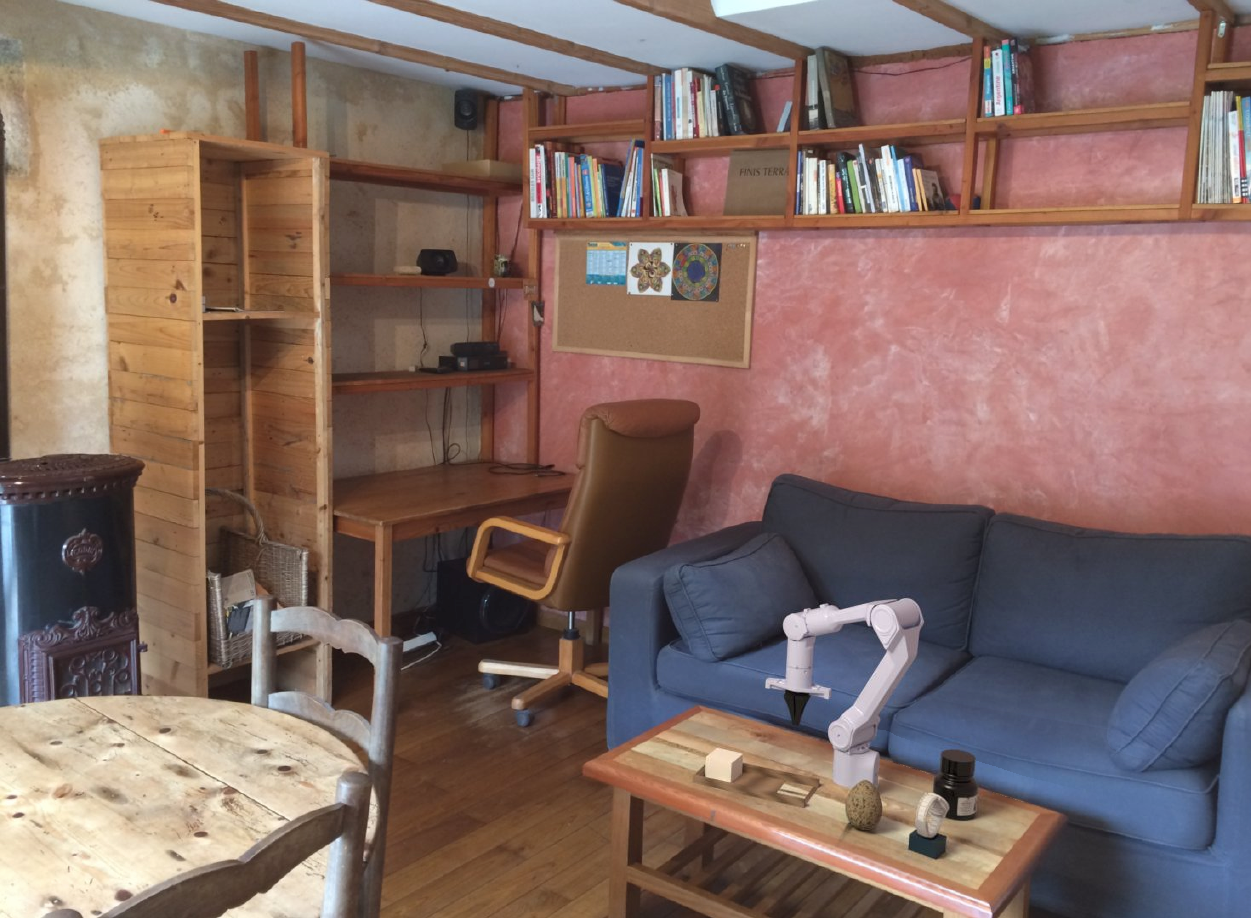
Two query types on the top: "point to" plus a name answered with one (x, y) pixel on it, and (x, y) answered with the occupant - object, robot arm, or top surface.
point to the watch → (929, 827)
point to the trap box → (762, 784)
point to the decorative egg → (863, 806)
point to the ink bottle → (957, 784)
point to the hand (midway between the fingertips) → (796, 723)
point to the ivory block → (724, 765)
